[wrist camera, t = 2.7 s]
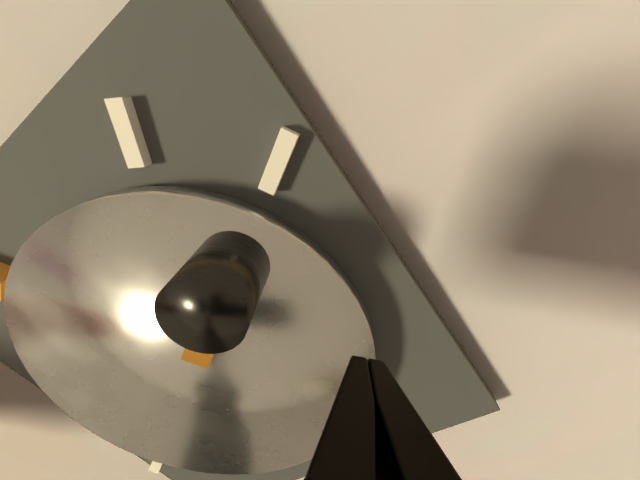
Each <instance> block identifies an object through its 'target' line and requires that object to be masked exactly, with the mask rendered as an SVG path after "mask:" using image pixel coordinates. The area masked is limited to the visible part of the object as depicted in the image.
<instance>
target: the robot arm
mask: <svg viewBox="0 0 640 480" xmlns="http://www.w3.org/2000/svg"><path fill="white" fill-rule="evenodd" d="M304 480H462V479H461V478H460V476H459V475H458V473H457V472H456V470H455V469H454V467H453V466H452V464H451V463H450V461H449V460H448V458H447V457H446V455H445V454H444V452H443V450H442V449H441V447H440V446H439V444H438V443H437V441H436V440H435V438H434V437H433V435H432V434H431V432H430V431H429V429H428V428H427V426H426V425H425V423H424V422H423V420H422V419H421V417H420V416H419V414H418V413H417V411H416V410H415V408H414V406H413V405H412V403H411V402H410V400H409V399H408V397H407V396H406V394H405V393H404V391H403V390H402V388H401V387H400V385H399V384H398V382H397V381H396V379H395V378H394V376H393V375H392V373H391V372H390V370H389V369H388V367H387V366H386V364H385V363H384V362H383V361H382V360H377V359H371V358H369V359H366V358H365V357H360V356H354V355H353V356H351V358H350V360H349V363H348V366H347V368H346V371H345V373H344V376H343V379H342V381H341V384H340V387H339V389H338V392H337V394H336V397H335V400H334V402H333V405H332V407H331V410H330V413H329V415H328V418H327V421H326V423H325V426H324V428H323V431H322V434H321V436H320V439H319V441H318V444H317V447H316V449H315V452H314V455H313V457H312V460H311V462H310V465H309V468H308V470H307V473H306V476H305V478H304Z"/></svg>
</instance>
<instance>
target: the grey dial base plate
mask: <svg viewBox="0 0 640 480" xmlns="http://www.w3.org/2000/svg"><path fill="white" fill-rule="evenodd" d="M143 186H179V187H187V188H195V189H203V190H208V191H212V192H216V193H220V194H224V195H228V196H232V197H234V198H237V199H240V200H242V201H245V202H248V203H250V204H253V205H255V206H258V207H261V208H262V209H264V210H266V211H268V212H270V213H272V214H274V215H276V216H278V217H280V218H282V219H284V220H286V221H287V222H289V223H290V224H291V225H293V226H294V227H296V228H297V229H299V230H300V231H302V232H303V233H305V234H306V235H308V236H309V237H310V238H311V239H312V240H314V241H315V242H316V243H317V244H318V245H319V246H320V247H321V248H323V249H324V250H325V251H326V252H327V253H328V254H329V255H330V256H331V257H332V258H333V259H334V260H335V262H336V263H337V264H338V265H339V266H340V267H341V268H342V270H343V271H344V272H345V273H346V275H347V276H348V278H349V279H350V281H351V282H352V284H353V285H354V287H355V288H356V290H357V291H358V293H359V295H360V297H361V300H362V302H363V304H364V306H365V308H366V310H367V313H368V317H369V320H370V324H371V327H372V332H373V339H374V347H375V357H376V359H377V360H382V361H383V362H384V363H385V364H386V366H387V367H388V369H389V370H390V372H391V373H392V375H393V376H394V378H395V379H396V381H397V382H398V384H399V385H400V387H401V388H402V390H403V391H404V393H405V394H406V396H407V397H408V399H409V400H410V402H411V403H412V405H413V406H414V408H415V410H416V411H417V413H418V414H419V416H420V417H421V419H422V420H423V422H424V423H425V425H426V426H427V428H428V429H429V431H430V432H431V433H434V432H437V431H440V430H443V429H446V428H449V427H452V426H454V425H457V424H460V423H463V422H466V421H469V420H472V419H475V418H478V417H481V416H484V415H487V414H490V413H493V412H496V411H498V410H500V408H499V406H498V404H497V402H496V400H495V398H494V396H493V395H492V393H491V392H490V390H489V389H488V387H487V386H486V384H485V383H484V381H483V380H482V378H481V377H480V375H479V374H478V372H477V371H476V369H475V368H474V366H473V365H472V363H471V362H470V360H469V359H468V357H467V356H466V354H465V353H464V351H463V350H462V348H461V347H460V345H459V344H458V342H457V341H456V339H455V338H454V336H453V335H452V333H451V332H450V330H449V329H448V327H447V326H446V324H445V323H444V321H443V320H442V318H441V317H440V315H439V314H438V312H437V311H436V309H435V308H434V306H433V305H432V303H431V302H430V300H429V299H428V297H427V296H426V294H425V293H424V291H423V290H422V288H421V287H420V285H419V284H418V282H417V281H416V279H415V278H414V276H413V275H412V273H411V272H410V270H409V269H408V267H407V266H406V264H405V263H404V261H403V260H402V258H401V257H400V255H399V254H398V252H397V251H396V249H395V248H394V246H393V245H392V243H391V242H390V240H389V239H388V237H387V236H386V234H385V233H384V231H383V230H382V228H381V227H380V225H379V224H378V222H377V221H376V219H375V218H374V216H373V215H372V213H371V212H370V210H369V209H368V207H367V206H366V204H365V203H364V201H363V200H362V198H361V197H360V195H359V194H358V192H357V191H356V189H355V188H354V186H353V185H352V183H351V182H350V180H349V179H348V177H347V176H346V174H345V173H344V171H343V170H342V168H341V167H340V165H339V164H338V162H337V161H336V159H335V158H334V156H333V155H332V153H331V152H330V150H329V149H328V147H327V146H326V144H325V143H324V141H323V140H322V138H321V137H320V135H319V134H318V132H317V131H316V129H315V128H314V126H313V125H312V123H311V122H310V120H309V119H308V117H307V116H306V114H305V113H304V111H303V110H302V108H301V107H300V105H299V104H298V102H297V101H296V99H295V98H294V96H293V95H292V93H291V92H290V90H289V89H288V87H287V86H286V84H285V83H284V81H283V80H282V78H281V77H280V75H279V74H278V72H277V71H276V69H275V68H274V66H273V65H272V63H271V62H270V60H269V59H268V57H267V56H266V54H265V53H264V51H263V50H262V48H261V47H260V45H259V44H258V42H257V41H256V39H255V38H254V36H253V35H252V33H251V32H250V30H249V29H248V27H247V26H246V24H245V23H244V21H243V20H242V18H241V17H240V15H239V14H238V12H237V11H236V9H235V8H234V6H233V5H232V3H231V2H230V0H130V1H129V2H128V3H127V5H126V6H125V7H124V8H123V9H122V10H121V11H120V12H119V14H118V15H117V16H116V17H115V18H114V19H113V20H112V21H111V23H110V24H109V25H108V26H107V27H106V28H105V29H104V31H103V32H102V33H101V34H100V35H99V36H98V37H97V38H96V40H95V41H94V42H93V43H92V44H91V45H90V46H89V47H88V49H87V50H86V51H85V52H84V53H83V54H82V55H81V57H80V58H79V59H78V60H77V61H76V62H75V63H74V64H73V66H72V67H71V68H70V69H69V70H68V71H67V72H66V73H65V75H64V76H63V77H62V78H61V79H60V80H59V81H58V82H57V84H56V85H55V86H54V87H53V88H52V89H51V90H50V92H49V93H48V94H47V95H46V96H45V97H44V98H43V99H42V101H41V102H40V103H39V104H38V105H37V106H36V107H35V108H34V110H33V111H32V112H31V113H30V114H29V115H28V116H27V117H26V119H25V120H24V121H23V122H22V123H21V124H20V125H19V127H18V128H17V129H16V130H15V131H14V132H13V133H12V134H11V136H10V137H9V138H8V139H7V140H6V141H5V142H4V143H3V145H2V146H1V147H0V361H1V362H3V363H4V364H5V365H7V366H8V367H10V368H11V369H13V370H14V371H16V372H17V373H18V374H20V375H21V376H23V377H24V378H26V379H27V380H29V381H30V382H31V383H33V384H34V385H36V386H37V387H39V386H38V385H37V383H36V382H35V381H34V379H33V378H32V377H31V375H30V374H29V373H28V371H27V370H26V368H25V366H24V365H23V363H22V361H21V360H20V358H19V356H18V354H17V352H16V350H15V347H14V345H13V343H12V340H11V338H10V334H9V331H8V327H7V323H6V319H5V309H4V293H5V283H6V279H7V276H8V273H9V269H10V266H11V263H12V262H13V260H14V258H15V256H16V254H17V253H18V251H19V249H20V247H21V246H22V245H23V244H24V243H25V241H26V240H27V239H28V238H29V237H30V236H31V235H32V234H33V232H34V231H35V230H37V229H38V228H39V227H41V226H42V225H43V224H45V223H46V222H47V221H49V220H50V219H51V218H53V217H55V216H57V215H59V214H61V213H63V212H65V211H67V210H69V209H71V208H73V207H75V206H77V205H79V204H81V203H84V202H86V201H88V200H91V199H93V198H95V197H98V196H101V195H105V194H108V193H111V192H115V191H118V190H123V189H130V188H136V187H143ZM39 388H40V387H39ZM40 389H41V388H40ZM41 390H42V389H41ZM137 456H138V455H137ZM138 457H139V458H141V459H142V460H144V461H145V462H147V463H148V464H150V468H149V471H151V472H154V473H157V474H158V473H159V471H160V472H161V473H163V474H164V475H165V476H167V477H168V478H170V479H171V480H296V479H299V478H302V477H305V476H306V473H307V470H308V468H309V465H310V462H311V460H312V459H311V460H309V461H307V462H304V463H302V464H299V465H296V466H292V467H289V468H286V469H281V470H276V471H271V472H265V473H256V474H236V475H229V474H212V473H204V472H196V471H191V470H186V469H181V468H176V467H172V466H168V465H165V464H161V463H158V462H154V461H152V460H149V459H146V458H143V457H140V456H138Z"/></svg>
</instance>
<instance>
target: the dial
mask: <svg viewBox="0 0 640 480" xmlns="http://www.w3.org/2000/svg"><path fill="white" fill-rule="evenodd" d="M4 309H5V319H6V323H7V327H8V331H9V334H10V338H11V340H12V343H13V345H14V347H15V350H16V352H17V354H18V356H19V358H20V360H21V361H22V363H23V365H24V366H25V368H26V370H27V371H28V373H29V374H30V375H31V377H32V378H33V379H34V381H35V382H36V383H37V385H38V386H39V387H40V388H41V389H42V390H43V392H44V393H45V394H46V395H47V396H48V397H49V398H50V399H51V400H52V401H53V402H54V403H55V404H56V405H57V406H58V407H59V408H61V409H62V410H63V411H64V412H65V413H66V414H67V415H69V416H70V417H71V418H73V419H74V420H75V421H77V422H78V423H79V424H81V425H82V426H83V427H85V428H86V429H88V430H89V431H91V432H93V433H94V434H96V435H97V436H99V437H101V438H102V439H104V440H106V441H108V442H110V443H112V444H114V445H116V446H117V447H119V448H122V449H124V450H126V451H128V452H131V453H133V454H135V455H138V456H140V457H143V458H146V459H149V460H152V461H154V462H158V463H161V464H165V465H168V466H172V467H176V468H181V469H186V470H191V471H196V472H204V473H212V474H229V475H236V474H256V473H265V472H271V471H276V470H281V469H286V468H289V467H292V466H296V465H299V464H302V463H304V462H307V461H309V460H311V459H312V457H313V455H314V452H315V449H316V447H317V444H318V441H319V439H320V436H321V434H322V431H323V428H324V426H325V423H326V421H327V418H328V415H329V413H330V410H331V407H332V405H333V402H334V400H335V397H336V394H337V392H338V389H339V387H340V384H341V381H342V379H343V376H344V373H345V371H346V368H347V366H348V363H349V360H350V358H351V356H353V355H354V356H360V357H365V358H366V359H369V358H371V359H376V357H375V347H374V339H373V332H372V327H371V324H370V320H369V317H368V313H367V310H366V308H365V306H364V304H363V302H362V300H361V297H360V295H359V293H358V291H357V290H356V288H355V287H354V285H353V284H352V282H351V281H350V279H349V278H348V276H347V275H346V273H345V272H344V271H343V270H342V268H341V267H340V266H339V265H338V264H337V263H336V262H335V260H334V259H333V258H332V257H331V256H330V255H329V254H328V253H327V252H326V251H325V250H324V249H323V248H321V247H320V246H319V245H318V244H317V243H316V242H315V241H314V240H312V239H311V238H310V237H309V236H308V235H306V234H305V233H303V232H302V231H300V230H299V229H297V228H296V227H294V226H293V225H291V224H290V223H289V222H287V221H286V220H284V219H282V218H280V217H278V216H276V215H274V214H272V213H270V212H268V211H266V210H264V209H262V208H261V207H258V206H255V205H253V204H250V203H248V202H245V201H242V200H240V199H237V198H234V197H232V196H228V195H224V194H220V193H216V192H212V191H208V190H203V189H195V188H187V187H179V186H143V187H136V188H130V189H123V190H118V191H115V192H111V193H108V194H105V195H101V196H98V197H95V198H93V199H91V200H88V201H86V202H84V203H81V204H79V205H77V206H75V207H73V208H71V209H69V210H67V211H65V212H63V213H61V214H59V215H57V216H55V217H53V218H51V219H50V220H49V221H47V222H46V223H45V224H43V225H42V226H41V227H39V228H38V229H37V230H35V231H34V232H33V234H32V235H31V236H30V237H29V238H28V239H27V240H26V241H25V243H24V244H23V245H22V246H21V247H20V249H19V251H18V253H17V254H16V256H15V258H14V260H13V262H12V263H11V266H10V269H9V273H8V276H7V279H6V283H5V293H4Z"/></svg>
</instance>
